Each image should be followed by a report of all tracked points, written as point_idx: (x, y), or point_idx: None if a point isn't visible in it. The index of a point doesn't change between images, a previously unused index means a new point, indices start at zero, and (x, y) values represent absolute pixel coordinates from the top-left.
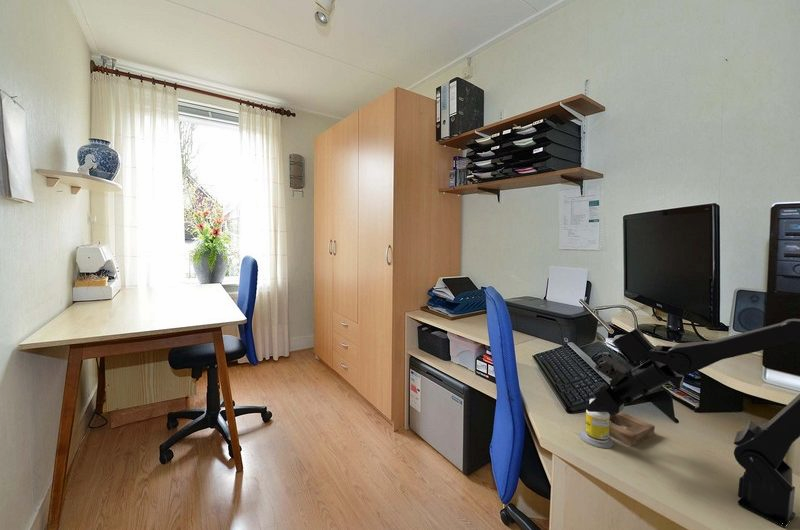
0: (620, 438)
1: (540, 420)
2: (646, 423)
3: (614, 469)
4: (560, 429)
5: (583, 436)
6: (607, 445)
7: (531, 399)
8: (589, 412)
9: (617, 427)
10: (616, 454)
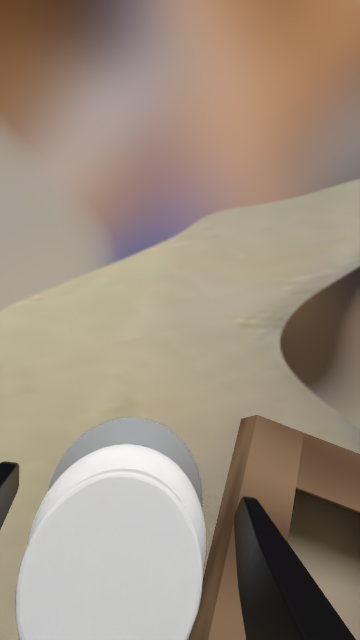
0: (198, 622)
1: (132, 270)
2: None
3: None
4: (110, 346)
5: (96, 444)
6: None
7: (275, 212)
8: (55, 483)
9: None
10: None
